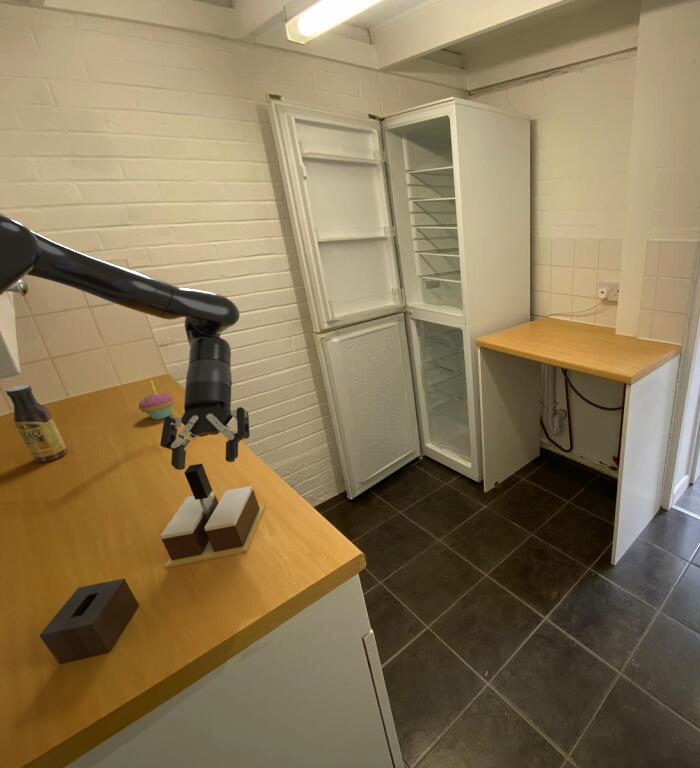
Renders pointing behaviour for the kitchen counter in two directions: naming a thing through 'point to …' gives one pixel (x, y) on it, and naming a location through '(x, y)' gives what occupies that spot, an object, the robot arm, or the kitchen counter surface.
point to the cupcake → (157, 404)
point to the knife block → (90, 621)
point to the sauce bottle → (36, 425)
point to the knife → (200, 488)
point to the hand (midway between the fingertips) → (205, 465)
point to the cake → (212, 528)
